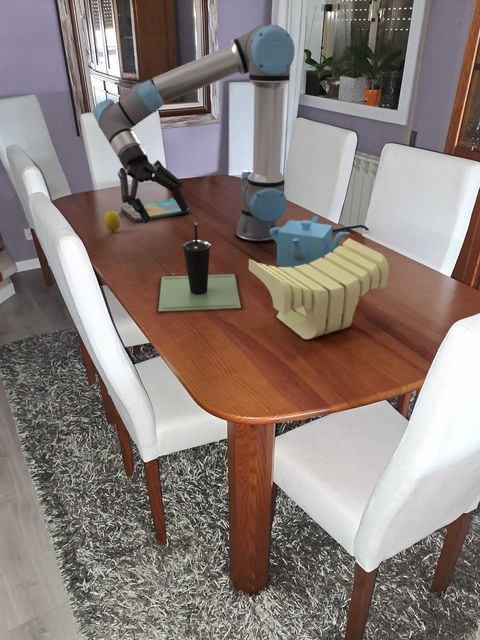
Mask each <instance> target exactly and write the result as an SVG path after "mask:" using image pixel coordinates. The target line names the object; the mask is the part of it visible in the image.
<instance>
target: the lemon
mask: <svg viewBox="0 0 480 640" xmlns="http://www.w3.org/2000/svg"><path fill="white" fill-rule="evenodd" d="M103 220H104V226H105V228H106V229H107V230H108V231H110V232H112V233H115V232H116V231H118V230H119V229H120V227H121V218H120V216H119V213H117V212H115V211H113V210H109V211H108V212H106V213H105V214H104V219H103Z"/></svg>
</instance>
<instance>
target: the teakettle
mask: <svg viewBox="0 0 480 640" xmlns="http://www.w3.org/2000/svg"><path fill="white" fill-rule="evenodd" d="M318 219H319V215H318V214H317V215H313V217H312V218H311V220H306V219H305V220H293V219H289V220H288V221H287V222H286V223H285V224H284V225H283V226H278V227H274V228H272V229H270V235H271V237H272V238H273V241H274V242H275V243H276V262H275V263H276V266H278V267H292V268H293V269H294V266H300V265H304V264H307V265H309V263H310V262H312V261H315V260H317V259H319V258H321V257H322V258H323V259H324V256H325V255H326V254H328V253H330V252H332V253H333V251H334V249H336V248H337V247H338V246H339V243H340V242H341V240H342V239H343V238H344V237H345V236H347V235H350V234H351V232H349V231H338V233H336V235H335V236H334V238H333V232H332V230H333V229H334V225H332V224H326V223H318ZM277 232H278V235H277ZM332 239H333V241H332Z"/></svg>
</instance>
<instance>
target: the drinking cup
mask: <svg viewBox="0 0 480 640" xmlns="http://www.w3.org/2000/svg"><path fill="white" fill-rule="evenodd" d="M193 225H194V226H193V228H194V239H193V240H189V241H187V242H184V243H183V244H182V250H183V254H184V260H185V261H184V262H185V267H186V273H187V276H188V280H189V286H190V292H191V293H192V294H195V295H201V294H205V293H206V292H207V287H208V275H209V267H210V251H211V248H212V247H211V243H209V242H208V241H205V240H201V239H198V224H197V222H196V221H195V222H193Z"/></svg>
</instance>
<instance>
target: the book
mask: <svg viewBox="0 0 480 640" xmlns="http://www.w3.org/2000/svg"><path fill="white" fill-rule="evenodd" d="M142 204H143V206H144V207H145V209H146V211H147V213H148V214H149V216H150V220H149V221H151V220H156V219H162V218H168V217H174V216H179V215H184V214H185V215H186V214H188V213H190V211H191V210H190V208H189V207H188V208H187V209H186V211H185V212H183V213H182V211H181V209H180V208H179V206H178V204H177V203H176V201H175V199H174V198H173V197H171V198H169V199H166V200H162V201H150V202H149V201H148V202H145V203H142ZM120 211H121V212H122V213H124V215H126V217H128V218H129V219H130V220H131V221H133V222H134V223H139V222H144V221H143V219H142V218H141V216H140V214H139V213H137V212H135V210H134V208H133V207H132V205H122V206H121V207H120Z"/></svg>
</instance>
